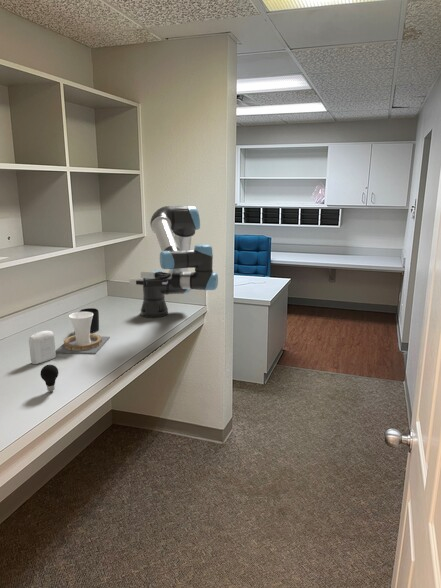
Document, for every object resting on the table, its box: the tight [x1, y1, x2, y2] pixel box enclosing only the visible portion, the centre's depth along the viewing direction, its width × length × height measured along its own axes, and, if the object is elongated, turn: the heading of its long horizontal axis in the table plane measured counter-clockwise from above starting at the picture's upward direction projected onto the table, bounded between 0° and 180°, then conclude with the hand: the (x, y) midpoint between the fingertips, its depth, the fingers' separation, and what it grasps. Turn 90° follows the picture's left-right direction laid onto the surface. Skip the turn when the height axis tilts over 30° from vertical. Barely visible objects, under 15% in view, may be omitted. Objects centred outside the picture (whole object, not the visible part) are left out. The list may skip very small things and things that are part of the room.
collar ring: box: [63, 333, 102, 351], centre depth 200 cm, size 16×16×2 cm
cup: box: [68, 311, 93, 345], centre depth 198 cm, size 10×10×14 cm
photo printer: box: [28, 330, 57, 365], centre depth 182 cm, size 10×4×12 cm, turn 144°
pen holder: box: [78, 307, 100, 334], centre depth 218 cm, size 9×9×10 cm
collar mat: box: [55, 335, 111, 355], centre depth 200 cm, size 20×18×1 cm
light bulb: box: [40, 364, 60, 393], centre depth 155 cm, size 6×6×10 cm
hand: (135, 278), depth 196 cm, fingers open, 13 cm apart
